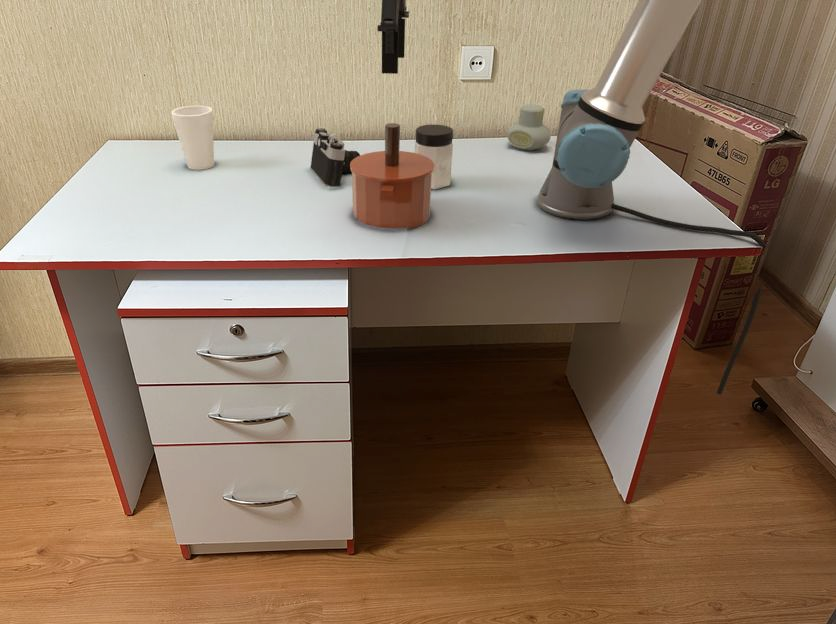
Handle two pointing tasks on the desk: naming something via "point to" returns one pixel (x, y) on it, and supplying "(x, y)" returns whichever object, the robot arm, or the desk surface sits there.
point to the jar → (436, 151)
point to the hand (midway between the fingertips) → (393, 65)
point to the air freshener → (529, 129)
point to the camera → (330, 158)
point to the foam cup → (195, 135)
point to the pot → (391, 202)
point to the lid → (392, 161)
